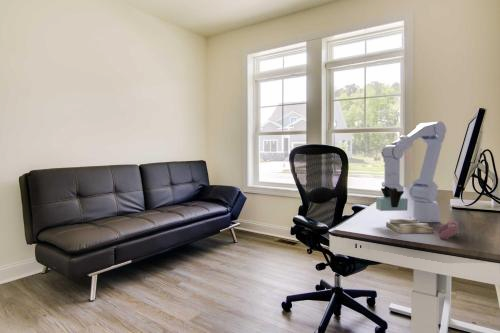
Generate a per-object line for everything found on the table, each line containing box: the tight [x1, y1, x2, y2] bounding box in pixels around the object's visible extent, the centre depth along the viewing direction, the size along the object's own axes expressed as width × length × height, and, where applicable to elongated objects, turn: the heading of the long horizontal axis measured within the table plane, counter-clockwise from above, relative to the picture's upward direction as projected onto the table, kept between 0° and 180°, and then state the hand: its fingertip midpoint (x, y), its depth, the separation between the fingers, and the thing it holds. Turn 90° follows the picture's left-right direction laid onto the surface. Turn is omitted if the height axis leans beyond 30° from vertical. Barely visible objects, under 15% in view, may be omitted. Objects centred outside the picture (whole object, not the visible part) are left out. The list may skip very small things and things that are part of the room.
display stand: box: [385, 218, 434, 234], centre depth 119 cm, size 13×11×3 cm
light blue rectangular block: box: [375, 196, 409, 212], centre depth 125 cm, size 11×4×5 cm, turn 90°
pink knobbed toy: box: [438, 220, 460, 240], centre depth 109 cm, size 10×5×7 cm, turn 149°
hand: (391, 205), depth 125 cm, fingers closed on light blue rectangular block, 4 cm apart
